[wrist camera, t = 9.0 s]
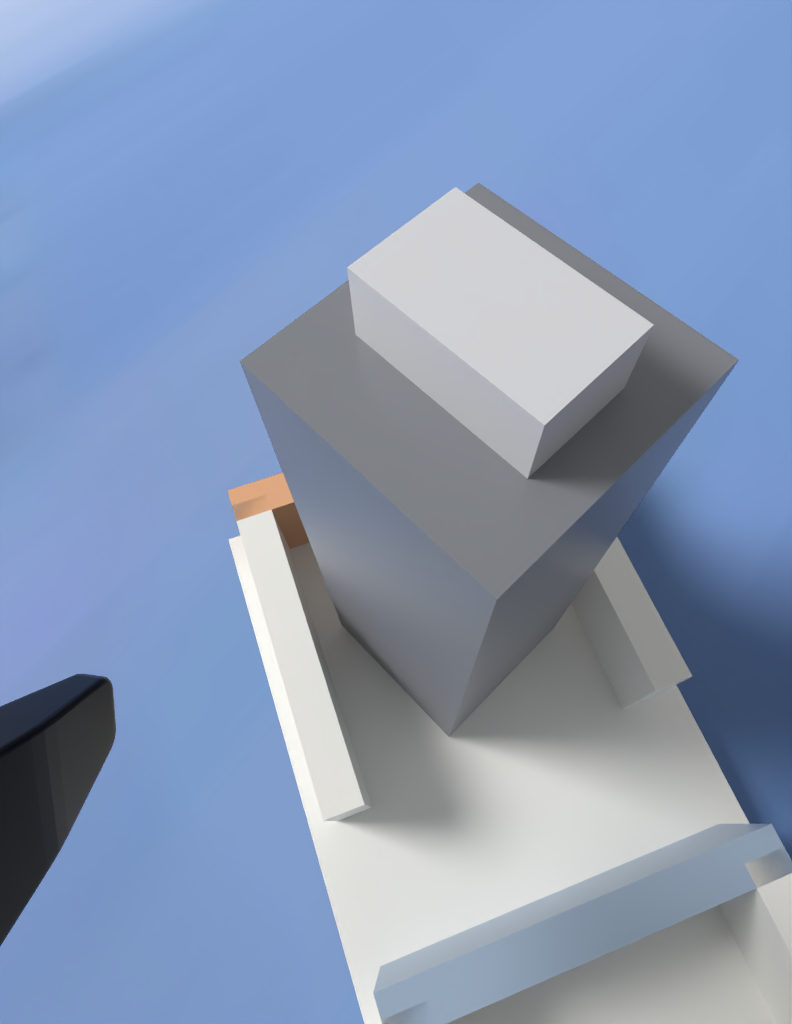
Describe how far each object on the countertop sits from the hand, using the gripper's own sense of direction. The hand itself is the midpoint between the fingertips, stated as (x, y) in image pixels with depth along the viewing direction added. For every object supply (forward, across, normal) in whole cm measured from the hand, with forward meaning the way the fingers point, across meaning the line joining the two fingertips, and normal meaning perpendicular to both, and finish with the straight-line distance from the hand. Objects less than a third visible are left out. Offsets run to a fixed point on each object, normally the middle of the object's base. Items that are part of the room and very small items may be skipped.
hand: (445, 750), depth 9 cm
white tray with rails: (+8, -3, +9) cm, 12 cm away
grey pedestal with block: (+11, 0, +4) cm, 12 cm away
